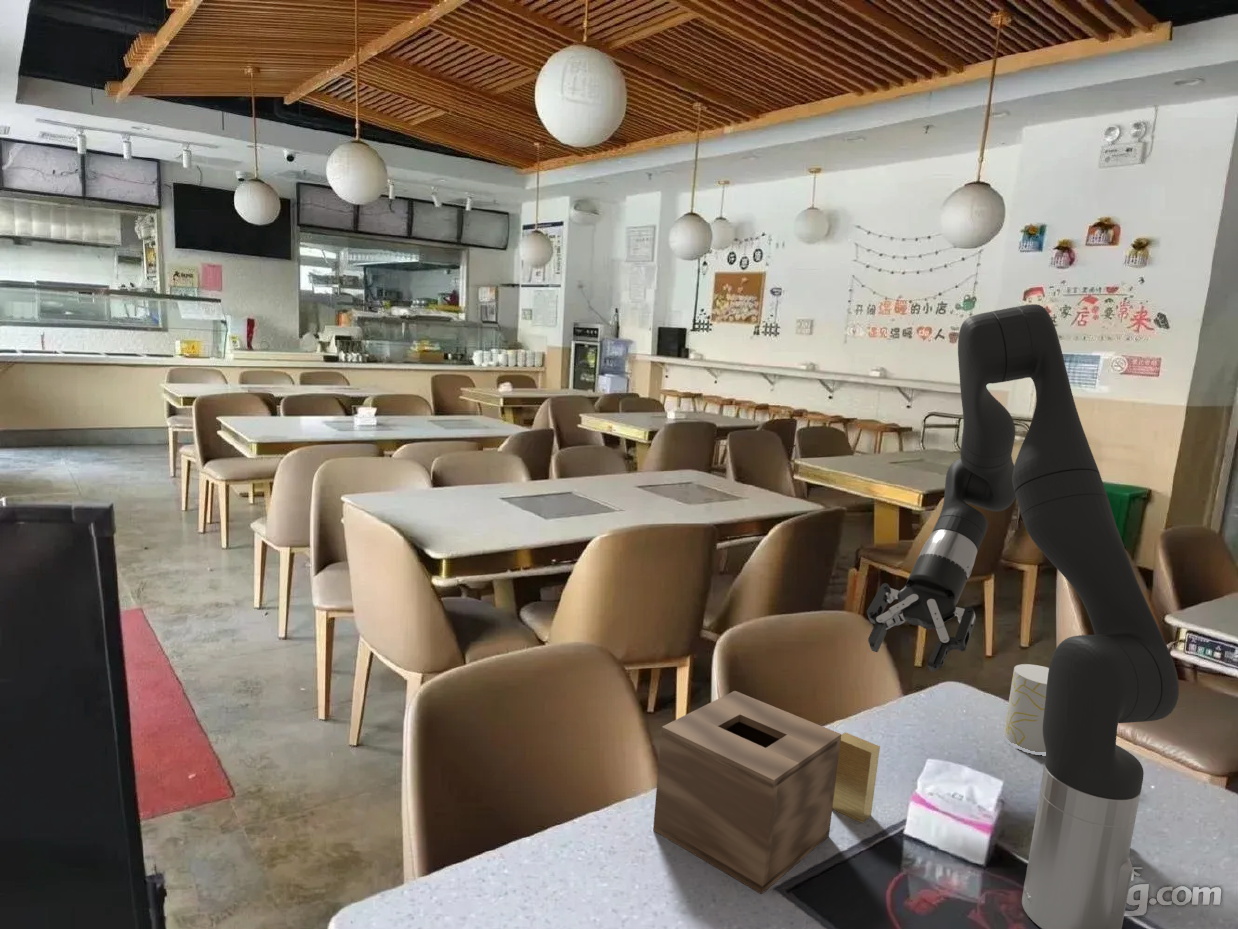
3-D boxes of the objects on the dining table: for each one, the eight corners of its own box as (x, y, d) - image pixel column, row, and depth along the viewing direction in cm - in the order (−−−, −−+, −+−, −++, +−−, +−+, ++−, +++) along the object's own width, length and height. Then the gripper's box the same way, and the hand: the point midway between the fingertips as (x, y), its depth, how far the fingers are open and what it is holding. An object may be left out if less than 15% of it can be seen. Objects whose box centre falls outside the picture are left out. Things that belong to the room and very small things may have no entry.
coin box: (725, 784, 115) (734, 690, 112) (828, 836, 104) (841, 734, 102) (653, 830, 103) (661, 726, 101) (761, 894, 92) (773, 780, 90)
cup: (992, 733, 136) (1002, 665, 134) (1031, 729, 138) (1042, 662, 137) (1029, 758, 128) (1041, 687, 126) (1070, 754, 131) (1082, 683, 129)
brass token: (837, 799, 113) (845, 732, 111) (871, 815, 110) (880, 746, 108) (828, 806, 111) (836, 738, 109) (862, 823, 108) (871, 753, 106)
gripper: (892, 542, 125) (848, 630, 118) (988, 565, 115) (947, 662, 109) (901, 569, 129) (860, 655, 123) (995, 593, 120) (956, 688, 114)
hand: (901, 658), depth 116 cm, fingers open, 8 cm apart
